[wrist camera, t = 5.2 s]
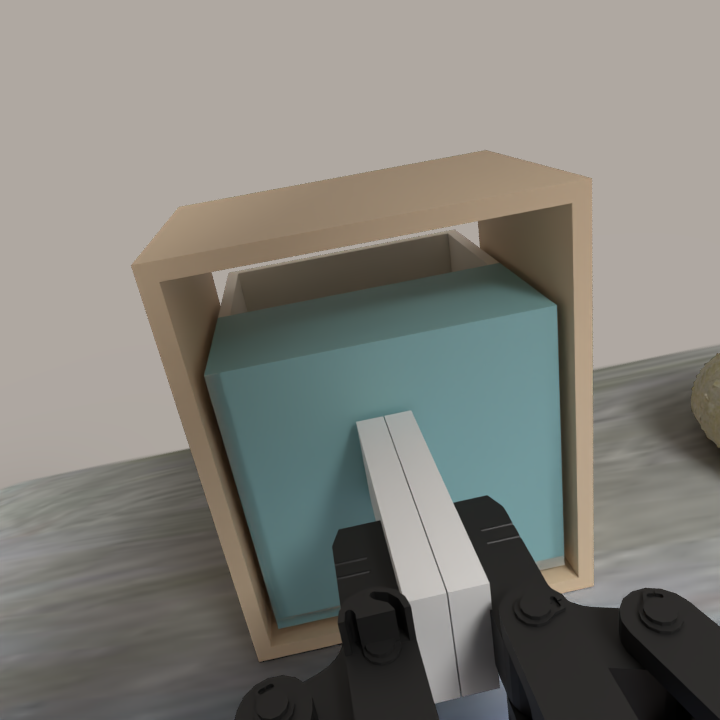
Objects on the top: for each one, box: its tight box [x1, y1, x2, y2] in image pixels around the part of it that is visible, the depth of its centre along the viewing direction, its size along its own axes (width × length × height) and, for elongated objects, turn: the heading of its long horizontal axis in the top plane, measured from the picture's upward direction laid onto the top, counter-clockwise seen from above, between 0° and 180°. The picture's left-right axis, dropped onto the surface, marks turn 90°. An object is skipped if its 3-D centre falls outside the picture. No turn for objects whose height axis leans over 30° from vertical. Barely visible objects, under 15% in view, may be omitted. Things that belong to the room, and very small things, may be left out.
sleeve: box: [131, 150, 594, 662], centre depth 21 cm, size 8×11×13 cm
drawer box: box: [204, 230, 565, 629], centre depth 22 cm, size 10×9×9 cm
